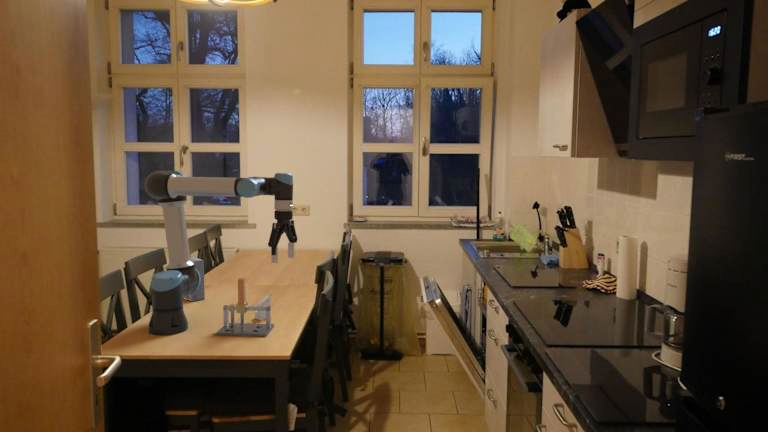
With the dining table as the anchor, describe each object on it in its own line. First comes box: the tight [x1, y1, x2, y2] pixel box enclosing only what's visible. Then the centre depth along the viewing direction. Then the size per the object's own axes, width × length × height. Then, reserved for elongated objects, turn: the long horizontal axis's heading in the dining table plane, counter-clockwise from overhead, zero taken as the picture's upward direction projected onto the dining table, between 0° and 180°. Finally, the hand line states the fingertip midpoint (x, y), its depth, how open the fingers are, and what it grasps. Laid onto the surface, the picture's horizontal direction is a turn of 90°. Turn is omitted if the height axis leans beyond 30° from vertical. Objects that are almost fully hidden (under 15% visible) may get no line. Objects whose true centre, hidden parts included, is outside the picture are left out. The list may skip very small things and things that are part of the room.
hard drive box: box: [184, 256, 206, 302], centre depth 273 cm, size 16×8×20 cm, turn 47°
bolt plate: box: [215, 322, 275, 338], centre depth 222 cm, size 20×13×1 cm, turn 88°
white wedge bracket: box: [254, 294, 272, 321], centre depth 241 cm, size 4×10×9 cm
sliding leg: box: [235, 277, 249, 326], centre depth 223 cm, size 4×4×20 cm
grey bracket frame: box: [223, 303, 272, 328], centre depth 224 cm, size 19×2×9 cm, turn 88°
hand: (283, 260), depth 230 cm, fingers open, 13 cm apart
